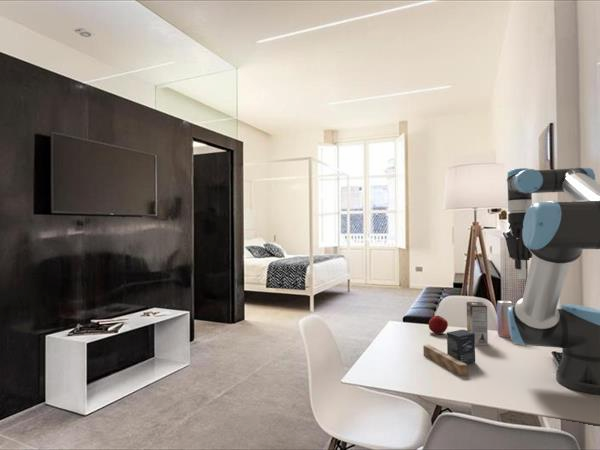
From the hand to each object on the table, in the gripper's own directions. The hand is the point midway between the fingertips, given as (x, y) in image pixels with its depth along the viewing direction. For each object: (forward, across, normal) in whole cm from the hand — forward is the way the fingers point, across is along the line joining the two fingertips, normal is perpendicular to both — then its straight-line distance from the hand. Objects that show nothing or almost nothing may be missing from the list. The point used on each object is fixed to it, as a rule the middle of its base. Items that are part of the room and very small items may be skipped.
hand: (521, 278), depth 136 cm
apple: (+30, +8, -40) cm, 50 cm away
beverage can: (+30, -18, -29) cm, 45 cm away
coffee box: (+30, 0, -24) cm, 38 cm away
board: (+29, +29, -4) cm, 41 cm away
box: (+30, +22, -4) cm, 37 cm away
